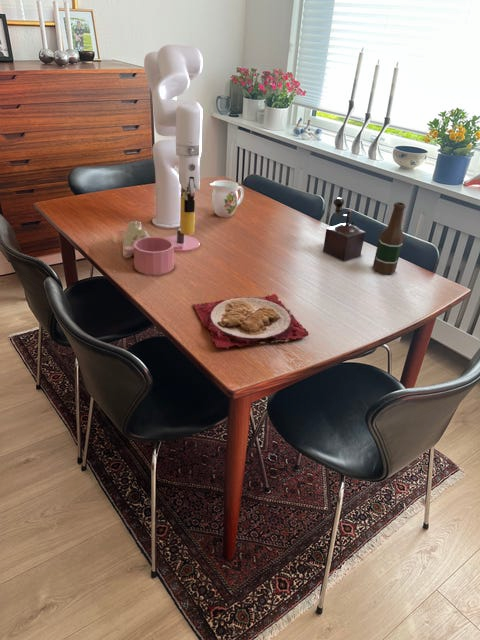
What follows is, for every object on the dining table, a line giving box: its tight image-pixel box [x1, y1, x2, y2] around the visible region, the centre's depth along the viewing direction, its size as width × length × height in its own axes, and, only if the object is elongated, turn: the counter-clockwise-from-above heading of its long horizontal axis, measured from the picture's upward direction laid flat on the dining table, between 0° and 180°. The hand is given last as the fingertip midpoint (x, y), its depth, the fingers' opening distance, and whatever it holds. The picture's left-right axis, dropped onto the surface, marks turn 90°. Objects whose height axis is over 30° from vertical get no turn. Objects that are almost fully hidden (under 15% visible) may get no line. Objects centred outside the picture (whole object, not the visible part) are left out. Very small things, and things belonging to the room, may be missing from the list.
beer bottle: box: [372, 201, 406, 276], centre depth 164 cm, size 8×8×24 cm
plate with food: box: [192, 293, 310, 349], centre depth 134 cm, size 24×26×4 cm
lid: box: [164, 227, 201, 252], centre depth 175 cm, size 14×14×6 cm
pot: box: [125, 236, 182, 276], centre depth 158 cm, size 13×18×8 cm
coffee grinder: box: [322, 197, 366, 262], centre depth 178 cm, size 16×11×18 cm
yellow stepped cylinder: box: [179, 191, 196, 235], centre depth 156 cm, size 5×5×13 cm
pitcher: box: [209, 179, 245, 218], centre depth 204 cm, size 11×18×14 cm, turn 130°
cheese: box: [122, 220, 151, 259], centre depth 168 cm, size 15×7×15 cm
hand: (187, 208), depth 155 cm, fingers closed on yellow stepped cylinder, 4 cm apart
